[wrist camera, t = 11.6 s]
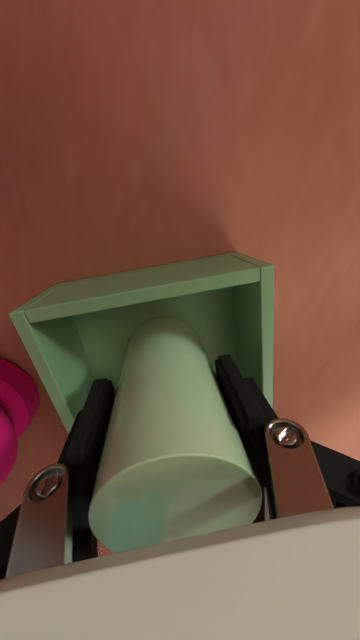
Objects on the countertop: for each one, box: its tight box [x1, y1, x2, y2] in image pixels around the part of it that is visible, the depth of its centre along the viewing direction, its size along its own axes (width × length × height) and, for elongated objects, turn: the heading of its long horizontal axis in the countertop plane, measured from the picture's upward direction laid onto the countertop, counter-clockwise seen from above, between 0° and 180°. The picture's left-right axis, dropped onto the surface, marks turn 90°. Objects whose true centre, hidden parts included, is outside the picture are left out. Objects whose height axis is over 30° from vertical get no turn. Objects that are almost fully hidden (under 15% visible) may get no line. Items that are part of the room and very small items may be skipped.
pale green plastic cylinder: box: [88, 317, 262, 553], centre depth 11 cm, size 5×5×9 cm
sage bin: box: [8, 252, 274, 435], centre depth 13 cm, size 11×11×5 cm
